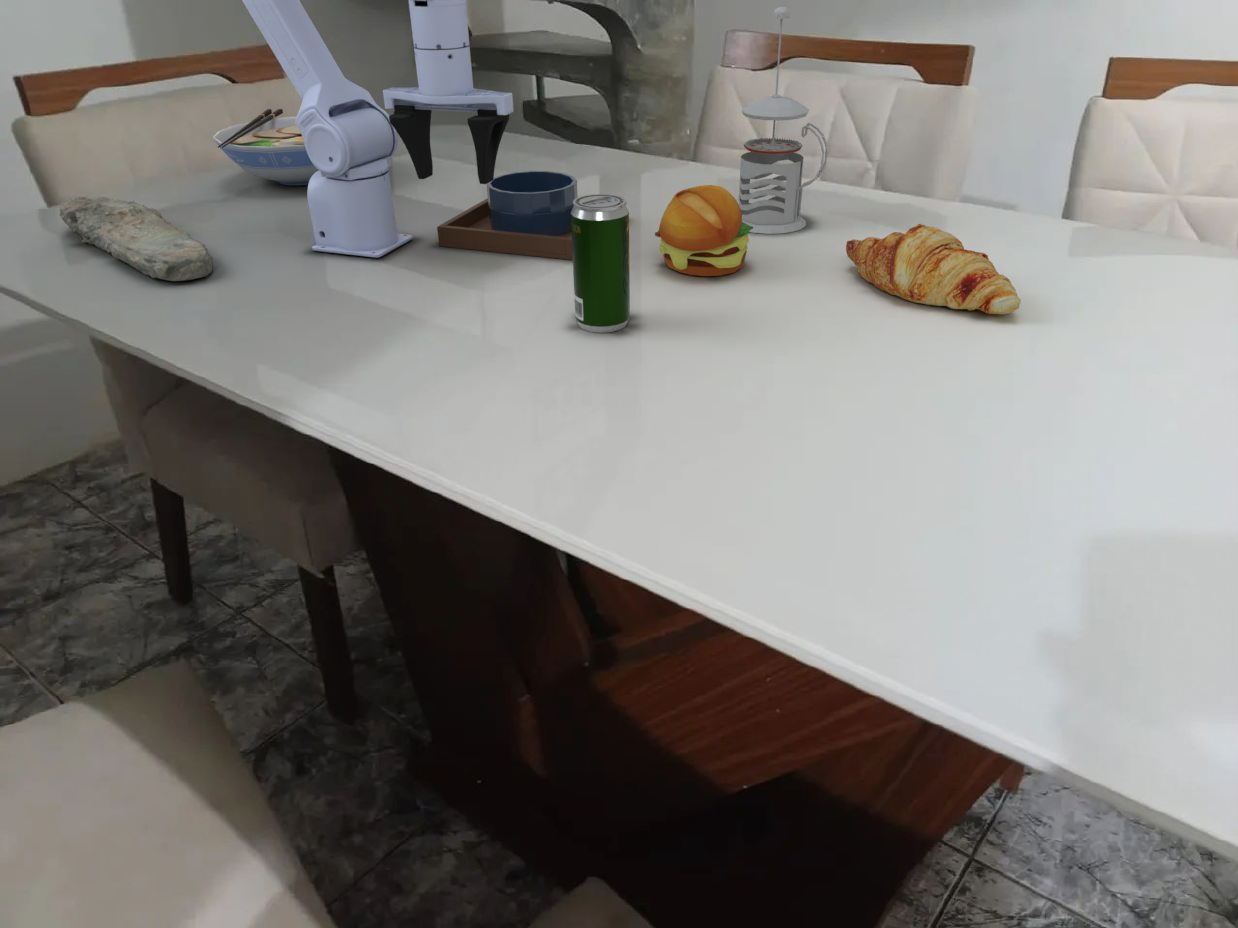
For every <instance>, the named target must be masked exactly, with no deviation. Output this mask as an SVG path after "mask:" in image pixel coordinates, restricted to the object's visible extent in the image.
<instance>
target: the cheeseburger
mask: <svg viewBox="0 0 1238 928" xmlns="http://www.w3.org/2000/svg"><path fill="white" fill-rule="evenodd" d="M738 203H739V202H738V201H737V199H736V198H735V197H734V196H733V195H732V194H731V192H730V191H729V190H728V189H726V188H724V187H722V186H720V185H713V184H705V185H704V184H703V185H697V186H692V187H688V188H685V189H683V190H680V191H678V192H676V194H674V195H673V197H672V198H671V200H670V201H669V203H668V204H667V207H666V209H665V210H664V212H663V214H662V216H661V219H660V223H659V226H658V230H657V231H655V232H654V236H655V237H657V238H660V244H659V247H658V249H659V251H660V252H661V254H662V255H661V256H663V258H664V259H663V260H664V261H665V264H666V266H667V267H668V268H670V269H672V270H673V271H676V272H677V273H681V274H684V275H685V274H686V275H690V276H697V277H699V276H700V277H720V276H725V275H729V274H733V273H736V272H737V271H738V270H740V269H741V268H742V267H744V264H745V259H746V256H747V252H748V251H747V250H748V244H749V242H750V239H749V238H750V236H749V233H750V232H749V230H751V229H753V226H749V225H747V224H746V223H743V222H742V213H741V210H740V207H739V205H738Z"/></svg>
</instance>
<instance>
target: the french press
mask: <svg viewBox="0 0 1238 928" xmlns="http://www.w3.org/2000/svg"><path fill="white" fill-rule="evenodd" d="M790 17H791V10H790V9H789V8H788V7H784V6H778V7H777V8H776V9H775V10H774V11H773V19H779V21H780V22H779V36H778V49H777V50H778V51H777V64H776V66H777V67H776V80H775V81H776V82H775V93H774V94H772V95H769V96H764V97H761V98H760V97H759V98H758V99H756V100H753V101H750V102H749V103H747V104H746V105H745V106H743V108H742V109H741V110H740V111H741V113H742V115H743V116H744V117H746V118H749V119H752V120H762V121H773V122H772V123H773V125H772V137H769V138H768V137H764V138H763V137H761V138H758V137H757V138H754V139H749V140H747V141H745V142H744V143H743V147H744V149H746V150H747V151H749V152H745V153H743V154H741V156H740V168H739V169H740V170H739V185H738V186H739V188H738V202H737V203H738V205H739V207H740V210H741V213H742V222H743V223H746V224H747V225H749V226H753V229H751V230H749V232H748V233H754V234H765V235H776V234H788V233H792V232H798V231H800V230H802V229H804V228H805V227H806V226H807V221H806V220H805V219H804V218H803V216H801V210H802V199H803V190H804V189H803V188H805V187H808V186H810V185H811V184H813V183H814V182H815V181H816V180H818V179H819V178H820V177H821V176H822V174H823V172H824V170H825V168H826V165H827V160H828V154H829V148H828V142H827V140H826V137H825V134H824V133H823V132H822V131H821V130H820V128H819V127H817V126H816V125H814V124H813V123H809V122H808V123H806V125H803V127H801V137H802V138H805V137H806V136H807V135H808V131H810V132H811V133H813V134H814V136H815V137H816V138H817V140H818V142H819V145H820V150H821V161H820V166H819V169H818V171H817V173H816V175H815V177H813V179H811V180H807V181H805V182H803V181H802V180H803V168H804V156H803V155H802V154H800V153H798V152H799V151H801V149H802V148H803V144H802V143H801V142H800V141H798V140H794V139H788V138H784V137H782V138H778V137H777V138H776V137H775V130H776V121H777V122H778V121H792V120H800V119H802V118H805V117H806V116H807V115H808V114H809V111H810V109H809V108H808V107H806V106H805V105H803V103H801V102H799V101H797V100H795V99H794V98H793V97H788V96H782V95H780V94H778V90H779V76H780V75H779V74H780V63H781V62H780V59H781V48H782V47H781V45H782V34H783V33H782V32H783V19H790ZM811 127H812V128H811ZM814 129H815V130H816V131H817V132H818V133H819V134H820V136H821V137H820V136H819V135H818V133H817V132H816V131H815V130H814ZM821 138H822V140H821ZM822 141H823V142H822ZM823 143H824V144H823ZM824 147H825V148H824ZM780 161H781V162H782V161H790V163H782V164H781V163H779V164H776V163H778V162H780ZM791 162H792V163H791ZM771 175H777V176H775V177H772V178H767V177H769V176H771ZM763 178H764V179H763ZM751 180H757V181H754V182H751ZM802 182H803V183H802ZM768 186H774V187H772V188H766V187H768ZM762 188H766V189H762ZM759 189H760V190H759ZM750 190H757V191H754V192H751V193H750ZM784 191H785V192H784ZM767 196H773V197H770V198H768V199H763V200H762V199H761V198H765V197H767ZM757 199H761V200H757ZM750 200H757V201H755V202H750Z"/></svg>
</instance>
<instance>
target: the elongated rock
mask: <svg viewBox="0 0 1238 928" xmlns="http://www.w3.org/2000/svg"><path fill="white" fill-rule="evenodd" d="M59 216H60V218H61V220H62V221H63V223H64V224H66V225H67V226H68V227H69V229H72V232H73V233H77V234H79V235H80V237H81V239H82V240H81V244H88V245H94V246H95V247H97V248H99V249H100V250H102V251H105V252H107V254H111V255H112V257H113V258H114V259H116V260H120V261H122V262H123V263H126V264H128V265H129V266H131V268H134V269H135V270H137V271H138V272H140V273H142V274H143V275H144V276H146V277H150V278H151V279H155V278H157V279H160V280H164V281H170V282H183V281H185V282H186V281H192V280H196V279H201V278H204V277H208V276H209V274H211V273H212V271H213V269H212V268H213V261H212V260H213V257H212V256H211V255H210V254H209V251H208V248H207V247H206V245H205V244H204V243H201V242H200V241H198V240H196V239H194V238H193V237H192V236H191V235H190V234H189V233H187V232H185V230H182V229H179V228H178V227H176V226H175V225H174V224H173V223H172V222H171V221H168V220H166V218H164V217H163V216H162V213H161V212H158V210H157V208H154V207H150V208H149V207H148V206H146V205H144V204H140V203H137V202H135V201H134V200H132V201H130V200H129V201H128V200H123V199H114V198H110V197H106V196H98V197H88V196H78V195H77V196H75V198H74V199H72V198H69V199H67V200H66V201H64V203H63V204H62V205H60V206H59Z"/></svg>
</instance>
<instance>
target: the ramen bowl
mask: <svg viewBox="0 0 1238 928" xmlns="http://www.w3.org/2000/svg"><path fill="white" fill-rule="evenodd" d="M282 114H284V111H283V108H278V109H276V110H275V111H273V110H272V109H271V108H266V109H265V110H264V111H263V112H262V113H260V114H259V115H257V117H255V118H254V119H252V120H251V121H248V122H244V123H239V124H234V125H231V126H229V127H227V128H226V127H225V128H223V129H221V130H220V129H219V130H218V131H217V132H216V133H214V135H213V136H212V139H213V140H214V141H215V143H216V144H217V148H220V150H221V151H223V152H224V154H225V155H226V156H227V157H228V158H229V159H230V160H231V161H233V163H235V164H236V165H238V167H240V168H241V169H243V170H244V172H247V173H249V174H251V175H253V176H255V177H259V178H261V179H266V180H271V181H275V182H277V183H278V184H280V185H283V186H308V184H309V181H310V178H311V177H312V175H313V174H314V173H315V172H317V171H319V170H318V169H317V168H316V167H315V166H314V165H313V163H312V162H311V160H310V158H309V156H308V154H307V151H306V147H305V143H304V139H303V137H302V134H301V132H300V131H299V129H298V127H297V126H296V124H295V121H296V117H297V115H296V116H284V117H279V116H280V115H282Z"/></svg>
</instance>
